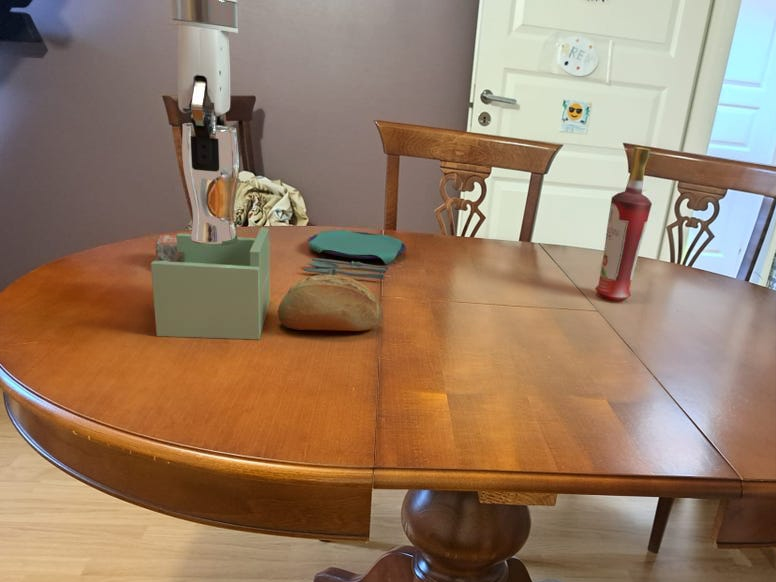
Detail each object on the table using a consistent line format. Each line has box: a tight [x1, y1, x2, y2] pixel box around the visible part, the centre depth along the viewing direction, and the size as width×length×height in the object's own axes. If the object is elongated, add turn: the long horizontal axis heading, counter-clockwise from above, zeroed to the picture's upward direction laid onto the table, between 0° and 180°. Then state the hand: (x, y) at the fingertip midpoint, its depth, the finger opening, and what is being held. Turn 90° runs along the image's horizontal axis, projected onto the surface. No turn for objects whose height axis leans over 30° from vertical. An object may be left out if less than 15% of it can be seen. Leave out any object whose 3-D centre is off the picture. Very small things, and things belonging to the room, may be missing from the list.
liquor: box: [594, 146, 653, 303], centre depth 123 cm, size 7×7×28 cm
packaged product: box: [154, 234, 177, 262], centre depth 117 cm, size 18×5×10 cm
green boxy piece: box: [150, 227, 271, 341], centre depth 94 cm, size 13×16×12 cm
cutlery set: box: [302, 229, 407, 280], centre depth 132 cm, size 20×30×2 cm, turn 0°
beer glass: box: [181, 122, 240, 246], centre depth 89 cm, size 7×7×15 cm
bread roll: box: [277, 274, 384, 332], centre depth 96 cm, size 10×15×8 cm, turn 102°
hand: (211, 164), depth 88 cm, fingers closed on beer glass, 7 cm apart
